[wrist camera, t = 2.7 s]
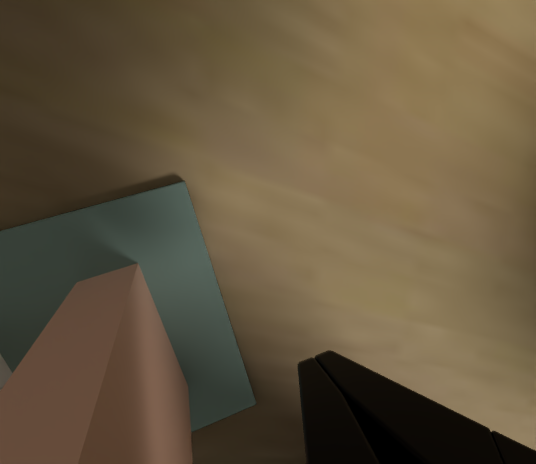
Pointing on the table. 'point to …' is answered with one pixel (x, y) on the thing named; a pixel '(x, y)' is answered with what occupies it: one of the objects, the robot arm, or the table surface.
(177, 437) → the domino
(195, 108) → the table surface
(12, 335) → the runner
